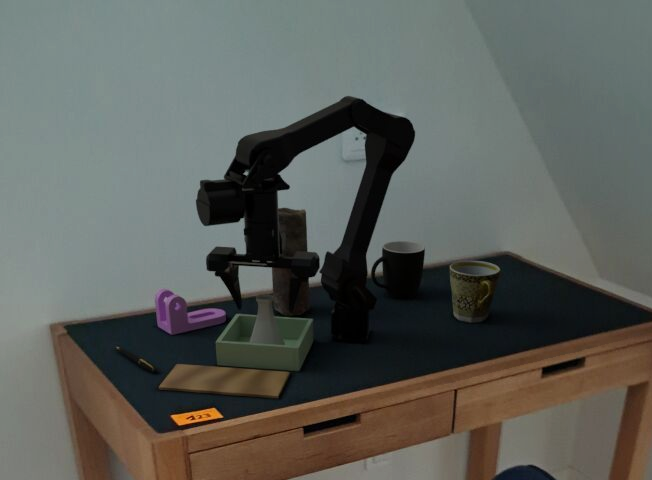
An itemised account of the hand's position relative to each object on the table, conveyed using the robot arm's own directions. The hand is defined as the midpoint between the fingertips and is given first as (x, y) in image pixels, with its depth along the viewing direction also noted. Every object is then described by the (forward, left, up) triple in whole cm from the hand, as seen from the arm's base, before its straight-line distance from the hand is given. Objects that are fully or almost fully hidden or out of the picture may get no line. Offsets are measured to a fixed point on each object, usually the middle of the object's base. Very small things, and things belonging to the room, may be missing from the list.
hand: (265, 310), depth 152 cm
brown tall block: (0, -23, -8) cm, 24 cm away
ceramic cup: (-37, -25, -8) cm, 45 cm away
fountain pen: (+22, +8, -8) cm, 25 cm away
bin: (0, 0, -8) cm, 8 cm away
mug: (-20, -37, -8) cm, 43 cm away
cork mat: (+4, +14, -8) cm, 17 cm away
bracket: (+17, -12, -8) cm, 22 cm away
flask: (0, 0, -8) cm, 8 cm away
